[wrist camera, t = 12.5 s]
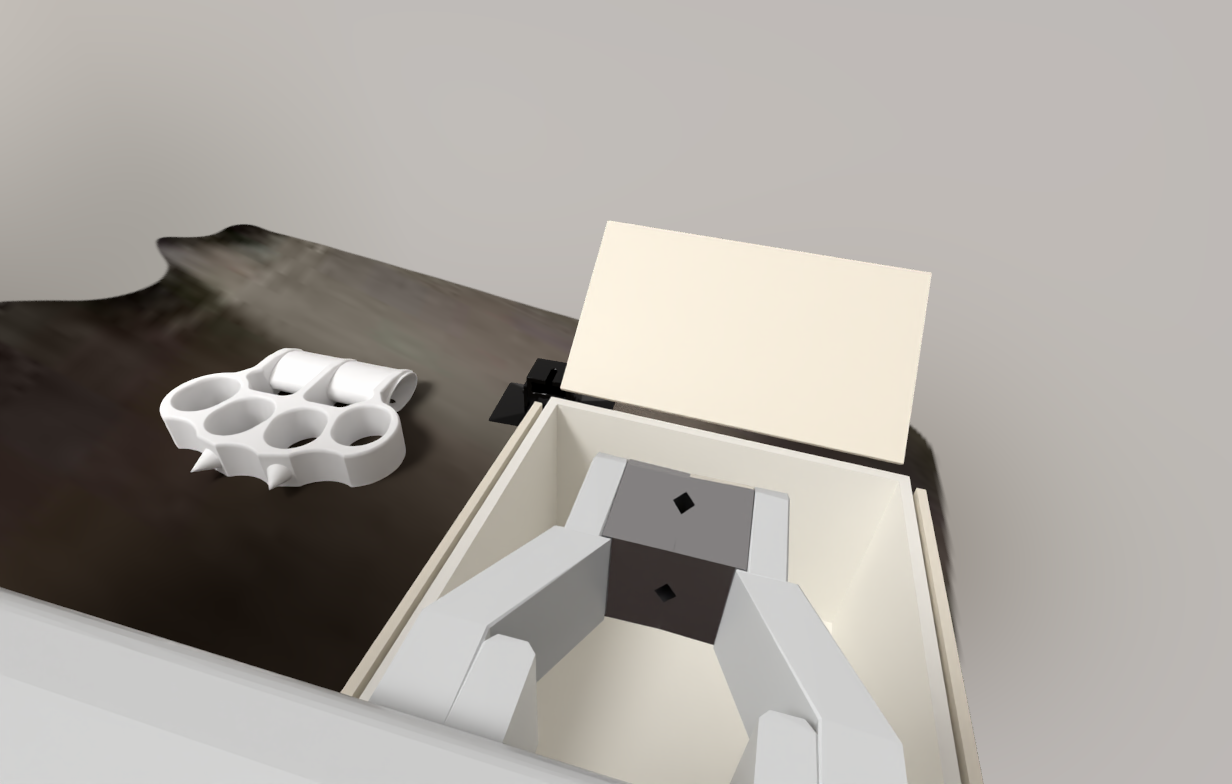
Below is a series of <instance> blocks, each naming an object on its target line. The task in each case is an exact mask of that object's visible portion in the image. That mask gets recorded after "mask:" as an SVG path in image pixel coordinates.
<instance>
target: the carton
mask: <svg viewBox="0 0 1232 784" xmlns="http://www.w3.org/2000/svg"><path fill="white" fill-rule="evenodd" d="M598 452H601V453H605V454H609V455H613V456H617V457H621V458H625V459H633V460H637V461H641V462H645V463H649V464H653V465H657V466H661V467H665V468H669V469H673V470H677V471H681V472H686V473H691V474H696V475H701V476H705V477H710V478H715V479H719V480H724V481H729V482H734V483H738V484H743V485H748V486H753V488H754V487H758V488H763V489H768V490H773V491H778V492H783V493H787V494H788V496H789V498H790V514H789V558H788V582H790V583H794V584H798V585H799V586H800V588H801V589H802V591H803V592H804V594H805V596H806V597H807V599H808V600H809V602H810V603H811V605H812V606H813V608H814V609H815V611H816V612H817V614H818V615H819V617H820V618H821V620H822V622H823V623H824V625H825V626H826V628H827V629H828V631H829V632H830V634H831V635H832V637H833V638H834V640H835V641H836V643H837V645H838V646H839V648H840V649H841V651H842V652H843V654H844V655H845V657H846V658H847V660H848V661H849V663H850V664H851V666H852V668H853V669H854V671H855V672H856V674H857V675H858V677H859V678H860V680H861V681H862V683H863V684H864V686H865V687H866V689H867V691H868V692H869V694H870V695H871V697H872V698H873V700H874V701H875V703H876V704H877V706H878V707H879V709H880V710H881V712H882V713H883V715H884V717H885V718H886V720H887V721H888V723H889V724H890V726H891V727H892V729H893V730H894V732H895V733H896V735H897V736H898V738H899V740H900V741H901V743H902V744H903V751H904V760H905V768H906V776H907V784H984V783H983V778H982V773H981V768H980V763H979V758H978V753H977V748H976V742H975V737H974V732H973V727H972V722H971V717H970V712H969V707H968V702H967V697H966V692H965V686H964V681H963V676H962V671H961V666H960V661H959V656H958V651H957V646H956V641H955V636H954V630H953V625H952V620H951V615H950V610H949V605H948V600H947V595H946V590H945V585H944V580H943V574H942V569H941V564H940V559H939V554H938V549H937V544H936V539H935V534H934V529H933V523H932V518H931V513H930V508H929V503H928V498H927V493H926V490H924V489H920V488H916V490H915V492H914V494H913V495H912V489H911V483H910V477H909V476H905V475H901V474H896V473H892V472H887V471H883V470H878V469H874V468H869V467H865V466H860V465H856V464H851V463H847V462H842V461H838V460H834V459H829V458H825V457H820V456H816V455H811V454H807V453H802V452H798V451H793V450H789V449H784V448H780V447H775V446H771V445H766V444H762V443H757V442H753V441H748V440H744V439H739V438H735V437H731V436H726V435H722V434H717V433H713V432H708V431H704V430H699V429H695V428H690V427H686V426H681V425H677V424H672V423H668V422H663V421H659V420H654V419H650V418H645V417H641V416H637V415H632V414H628V413H623V412H619V411H614V410H610V409H605V408H601V407H596V406H592V405H587V404H583V403H578V402H574V401H569V400H565V399H560V398H556V397H551V398H550V400H549V401H548V403H547V404H546V406H545V407H544V409H543V411H542V403H540V402H534V404H533V405H532V407H531V408H530V410H529V411H528V413H527V414H526V416H525V417H524V419H523V420H522V422H521V423H520V425H519V426H518V428H517V429H516V431H515V432H514V434H513V435H512V437H511V438H510V440H509V441H508V443H507V444H506V446H505V447H504V448H503V450H502V451H501V453H500V454H499V456H498V457H497V459H496V460H495V462H494V463H493V465H492V466H491V468H490V469H489V471H488V472H487V474H486V475H485V477H484V478H483V480H482V481H481V483H480V484H479V486H478V487H477V489H476V490H475V492H474V493H473V495H472V496H471V498H470V499H469V501H468V502H467V504H466V505H465V507H464V508H463V510H462V511H461V513H460V514H459V516H458V517H457V519H456V520H455V522H454V523H453V525H452V526H451V528H450V529H449V531H448V532H447V534H446V535H445V537H444V538H443V540H442V541H441V543H440V544H439V546H438V547H437V549H436V550H435V552H434V553H433V555H432V556H431V558H430V559H429V561H428V562H427V564H426V565H425V567H424V568H423V570H422V571H421V573H420V574H419V576H418V577H417V579H416V580H415V582H414V583H413V585H412V586H411V588H410V589H409V591H408V592H407V594H406V595H405V597H404V598H403V600H402V601H401V603H400V604H399V606H398V607H397V609H396V610H395V612H394V613H393V615H392V616H391V618H390V619H389V620H388V622H387V623H386V625H385V626H384V628H383V629H382V631H381V632H380V634H379V635H378V637H377V638H376V640H375V641H374V643H373V644H372V646H371V647H370V649H369V650H368V652H367V653H366V655H365V656H364V658H363V659H362V661H361V662H360V664H359V665H358V667H357V668H356V670H355V671H354V673H353V674H352V676H351V677H350V679H349V680H348V682H347V683H346V685H345V686H344V688H343V689H342V691H341V692H340V693H342V694H345V695H349V696H352V697H355V698H358V699H362V700H365V701H369V699H370V697H371V696H372V694H373V692H374V691H375V689H376V687H377V686H378V684H379V682H380V680H381V679H382V677H383V675H384V674H385V672H386V670H387V669H388V667H389V665H390V664H391V662H392V660H393V658H394V657H395V655H396V653H397V652H398V650H399V648H400V647H401V645H402V643H403V642H404V640H405V638H406V636H407V635H408V633H409V631H410V630H411V628H412V626H413V625H414V623H415V621H416V620H417V618H418V616H419V614H420V613H421V611H422V609H424V608H425V607H427V606H428V605H430V604H432V603H433V602H435V601H436V600H438V599H439V598H441V597H443V596H444V595H446V594H447V593H449V592H450V591H452V590H454V589H455V588H457V587H458V586H460V585H462V584H463V583H465V582H466V581H468V580H469V579H471V578H473V577H474V576H476V575H477V574H479V573H480V572H482V571H484V570H485V569H487V568H488V567H490V566H492V565H493V564H495V563H496V562H498V561H499V560H501V559H503V558H504V557H506V556H507V555H509V554H510V553H512V552H514V551H515V550H517V549H518V548H520V547H522V546H523V545H525V544H526V543H528V542H529V541H531V540H533V539H534V538H536V537H537V536H539V535H540V534H542V533H544V532H545V531H547V530H548V529H550V528H552V527H553V526H555V525H556V526H561V527H565V524H566V522H567V520H568V517H569V515H570V513H571V510H572V508H573V506H574V503H575V501H576V498H577V496H578V494H579V491H580V489H581V487H582V484H583V482H584V479H585V477H586V475H587V472H588V470H589V468H590V465H591V463H592V461H593V458H594V457H595V456H596V455H597V453H598ZM659 626H660V625H659ZM713 647H714V645H711V644H708V643H705V642H701V641H698V640H694V639H691V638H688V637H684V636H681V635H677V634H674V633H671V632H667V631H664V630H660V629H657V628H653V627H648V626H644V625H640V624H636V623H631V622H627V621H623V620H619V619H615V618H610V617H606V616H604V620H603V621H602V622H601V623H600V624H599V625H598V626H597V627H596V628H595V629H593V630H592V631H591V632H590V633H589V634H588V635H587V636H586V637H585V638H584V639H583V640H582V641H581V642H580V643H578V644H577V645H576V646H575V647H574V648H573V649H572V650H571V651H570V652H569V653H568V654H567V655H566V656H565V657H563V658H562V659H561V660H560V661H559V662H558V663H557V664H556V665H555V666H554V667H553V668H552V669H551V670H550V671H548V672H547V673H546V674H545V675H544V676H543V677H542V678H541V679H540V680H539V681H538V682H537V683H536V686H537V716H538V746H537V749H536V752H535V754H538V755H542V756H545V757H548V758H551V759H555V760H558V761H561V762H564V763H567V764H571V765H574V766H577V767H580V768H583V769H587V770H590V771H593V772H596V773H600V774H603V775H606V776H609V777H612V778H616V779H619V780H622V781H625V782H628V783H632V784H730V782H731V780H732V777H733V775H734V773H735V771H736V768H737V766H738V764H739V762H740V759H741V757H742V755H743V753H744V750H745V748H746V746H747V743H748V741H749V737H748V735H747V732H746V729H745V727H744V724H743V722H742V719H741V717H740V714H739V712H738V709H737V707H736V704H735V702H734V699H733V697H732V694H731V692H730V689H729V686H728V684H727V681H726V679H725V676H724V674H723V671H722V669H721V666H720V664H719V661H718V659H717V656H716V654H715V651H714V648H713Z"/></svg>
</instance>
